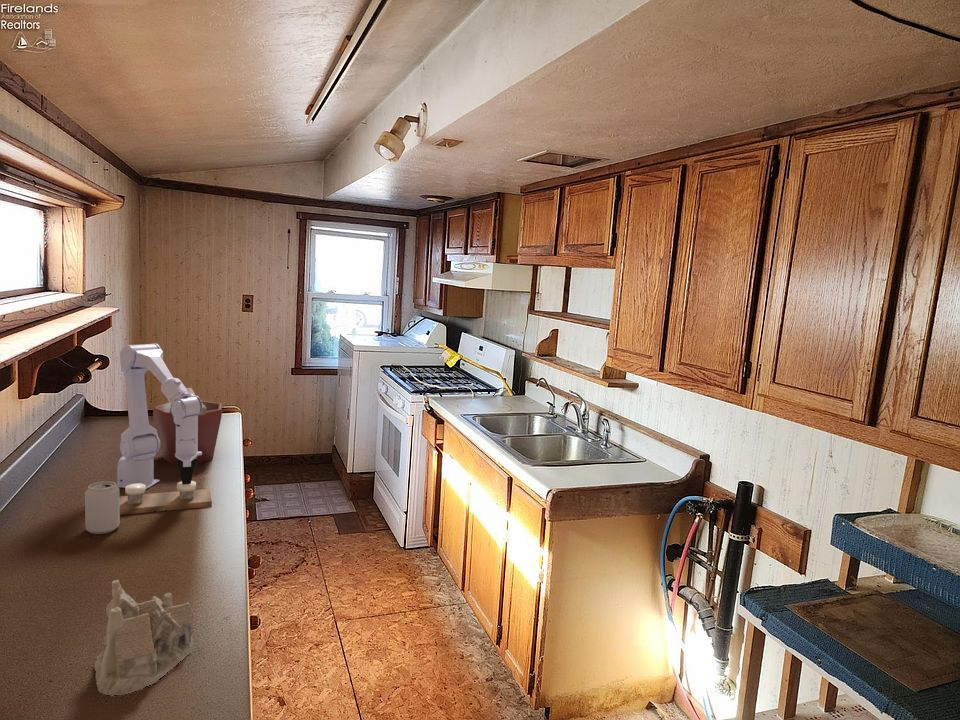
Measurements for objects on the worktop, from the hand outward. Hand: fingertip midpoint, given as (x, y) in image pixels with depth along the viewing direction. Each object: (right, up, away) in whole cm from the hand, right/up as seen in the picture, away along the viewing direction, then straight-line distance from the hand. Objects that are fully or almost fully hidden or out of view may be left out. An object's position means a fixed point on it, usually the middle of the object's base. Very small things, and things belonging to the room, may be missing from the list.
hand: (186, 483), depth 178 cm
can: (-11, -8, -21) cm, 25 cm away
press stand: (-6, -5, -2) cm, 9 cm away
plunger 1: (-12, -4, -5) cm, 14 cm away
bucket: (-19, +1, +42) cm, 46 cm away
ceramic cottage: (+27, -17, -72) cm, 78 cm away
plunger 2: (0, -4, +1) cm, 4 cm away
